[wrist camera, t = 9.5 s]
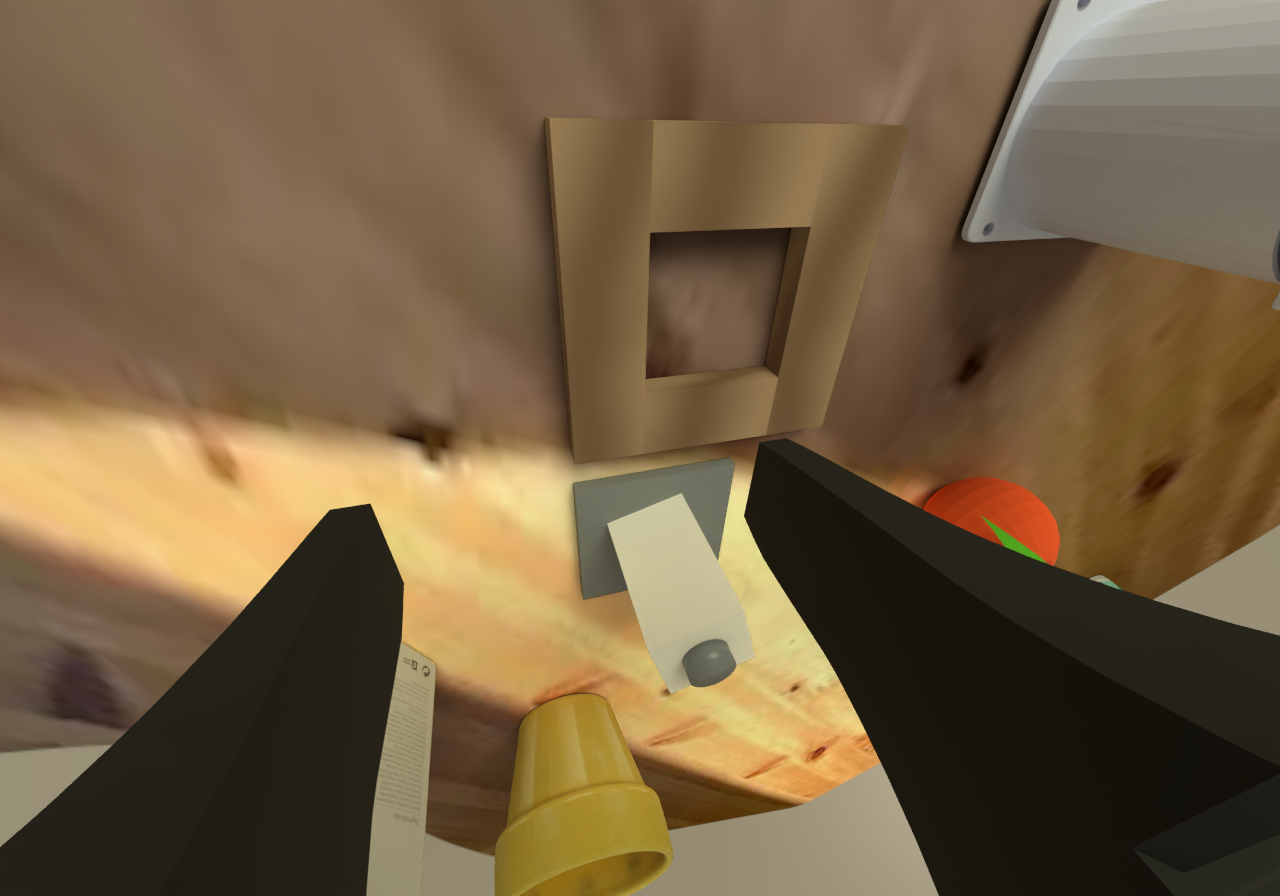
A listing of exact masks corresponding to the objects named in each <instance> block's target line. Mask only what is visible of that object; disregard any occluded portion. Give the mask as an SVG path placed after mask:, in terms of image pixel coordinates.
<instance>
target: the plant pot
mask: <svg viewBox="0 0 1280 896" xmlns="http://www.w3.org/2000/svg"><path fill="white" fill-rule="evenodd" d="M672 859H673V850H672V846H671V842H670V837H669V833H668V829H667V825H666V821H665V817H664V814H663V810H662V807H661V804H660V801H659V798H658V795H657V794H656V792H655V791H654V790H652V789H651V788H649V787H647V786H645V784H644V782H643V780H642V778H641V775H640V773H639V771H638V769H637V766H636V764H635V762H634V759H633V757H632V755H631V753H630V750H629V748H628V746H627V743H626V741H625V739H624V737H623V734H622V732H621V730H620V727H619V725H618V722H617V720H616V718H615V715H614V713H613V710H612V708H611V706H610V704H609V703H608V701H607V700H605V699H604V698H602V697H601V696H598V695H594V694H572V695H567V696H562V697H559V698H556V699H553V700H550V701H548V702H546V703H544V704H542V705H540V706H538V707H537V708H535V709H534V710H532V711H531V712H530V713H529V714H528V715H527V716H526V717H525V718H524V719H523V721H522V723H521V725H520V728H519V736H518V745H517V753H516V760H515V768H514V775H513V783H512V790H511V798H510V805H509V813H508V820H507V827H506V829H505V830H504V831H503V832H502V834H501V835H500V837H499V839H498V841H497V844H496V848H495V896H629V895H631V894H632V893H634V892H636V891H638V890H640V889H642V888H643V887H645V886H647V885H648V884H650V883H652V882H653V881H654V880H656V879H657V878H658V877H660V876H661V875H662V874H663V873H664V872H665V871H666V870H667V869H668V868H669V866H670V865H671V863H672Z"/></svg>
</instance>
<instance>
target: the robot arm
mask: <svg viewBox="0 0 1280 896" xmlns="http://www.w3.org/2000/svg"><path fill="white" fill-rule="evenodd" d="M1078 1H1079V4H1078ZM1077 4H1078V5H1077ZM985 226H986V227H985ZM984 228H985V229H984ZM983 230H984V231H983ZM1069 237H1071V238H1076V239H1080V240H1084V241H1089V242H1093V243H1098V244H1102V245H1107V246H1111V247H1116V248H1120V249H1125V250H1129V251H1134V252H1138V253H1142V254H1147V255H1151V256H1156V257H1160V258H1165V259H1169V260H1174V261H1178V262H1183V263H1187V264H1192V265H1196V266H1200V267H1205V268H1209V269H1214V270H1218V271H1223V272H1227V273H1232V274H1236V275H1241V276H1245V277H1250V278H1254V279H1258V280H1263V281H1267V282H1272V283H1276V284H1280V0H1052V1H1051V3H1050V6H1049V8H1048V11H1047V13H1046V16H1045V19H1044V21H1043V24H1042V26H1041V29H1040V31H1039V34H1038V36H1037V39H1036V42H1035V44H1034V47H1033V49H1032V52H1031V54H1030V57H1029V60H1028V62H1027V65H1026V67H1025V70H1024V72H1023V75H1022V77H1021V80H1020V83H1019V85H1018V88H1017V90H1016V93H1015V95H1014V98H1013V101H1012V103H1011V106H1010V108H1009V111H1008V113H1007V116H1006V119H1005V121H1004V124H1003V126H1002V129H1001V131H1000V134H999V136H998V139H997V142H996V144H995V147H994V149H993V152H992V154H991V157H990V160H989V162H988V165H987V167H986V170H985V172H984V175H983V178H982V180H981V183H980V185H979V188H978V190H977V193H976V195H975V198H974V201H973V203H972V206H971V208H970V211H969V213H968V216H967V219H966V221H965V224H964V226H963V229H962V238H963V240H965V241H969V242H992V241H1011V240H1030V239H1050V238H1069ZM1272 308H1273V309H1277V310H1280V290H1279V293H1278V295H1277V297H1276V298H1275V300H1274V302H1273V303H1272ZM744 517H745V519H746V522H747V524H748V526H749V528H750V531H751V533H752V535H753V537H754V540H755V542H756V544H757V546H758V548H759V550H760V552H761V554H762V556H763V558H764V560H765V561H766V563H767V565H768V566H769V568H770V570H771V571H772V573H773V574H774V576H775V577H776V579H777V581H778V582H779V584H780V585H781V587H782V589H783V590H784V592H785V593H786V595H787V596H788V598H789V599H790V601H791V603H792V604H793V606H794V607H795V609H796V610H797V612H798V613H799V615H800V616H801V618H802V620H803V621H804V623H805V624H806V626H807V627H808V629H809V630H810V632H811V634H812V635H813V637H814V638H815V640H816V641H817V643H818V644H819V646H820V648H821V649H822V651H823V652H824V654H825V656H826V657H827V659H828V661H829V662H830V664H831V666H832V667H833V669H834V671H835V672H836V674H837V676H838V678H839V680H840V682H841V684H842V686H843V688H844V690H845V692H846V693H847V695H848V697H849V699H850V701H851V703H852V705H853V707H854V709H855V711H856V713H857V715H858V717H859V719H860V721H861V722H862V724H863V727H864V729H865V731H866V733H867V735H868V737H869V739H870V741H871V743H872V745H873V747H874V749H875V751H876V753H877V756H878V758H879V760H880V762H881V764H882V766H883V768H884V770H885V772H886V774H887V776H888V778H889V780H890V783H891V785H892V787H893V790H894V792H895V794H896V796H897V798H898V801H899V803H900V805H901V807H902V809H903V812H904V814H905V816H906V819H907V821H908V823H909V825H910V827H911V830H912V832H913V834H914V836H915V839H916V841H917V843H918V846H919V848H920V851H921V853H922V855H923V858H924V860H925V863H926V865H927V867H928V870H929V872H930V875H931V877H932V880H933V882H934V885H935V887H936V889H937V892H938V894H939V896H1280V636H1279V635H1275V634H1271V633H1267V632H1263V631H1259V630H1255V629H1251V628H1248V627H1244V626H1240V625H1236V624H1232V623H1229V622H1225V621H1222V620H1218V619H1215V618H1211V617H1208V616H1205V615H1201V614H1198V613H1194V612H1191V611H1188V610H1185V609H1181V608H1178V607H1174V606H1171V605H1168V604H1164V603H1161V602H1157V601H1154V600H1151V599H1148V598H1145V597H1142V596H1139V595H1136V594H1133V593H1130V592H1126V591H1123V590H1120V589H1117V588H1114V587H1111V586H1108V585H1105V584H1103V583H1100V582H1097V581H1094V580H1091V579H1088V578H1086V577H1083V576H1080V575H1077V574H1074V573H1071V572H1069V571H1066V570H1063V569H1060V568H1057V567H1055V566H1052V565H1049V564H1047V563H1044V562H1041V561H1039V560H1036V559H1034V558H1031V557H1028V556H1026V555H1024V554H1021V553H1019V552H1016V551H1014V550H1011V549H1009V548H1007V547H1004V546H1002V545H999V544H997V543H995V542H992V541H990V540H987V539H985V538H983V537H980V536H978V535H976V534H973V533H971V532H969V531H967V530H964V529H962V528H960V527H958V526H956V525H954V524H952V523H949V522H947V521H945V520H943V519H941V518H939V517H937V516H935V515H933V514H931V513H929V512H927V511H925V510H922V509H920V508H918V507H916V506H914V505H912V504H910V503H908V502H907V501H905V500H903V499H901V498H899V497H897V496H895V495H893V494H891V493H889V492H887V491H885V490H883V489H882V488H880V487H878V486H876V485H874V484H872V483H870V482H868V481H867V480H865V479H863V478H861V477H859V476H857V475H856V474H854V473H852V472H850V471H848V470H846V469H845V468H843V467H841V466H839V465H837V464H835V463H834V462H832V461H830V460H828V459H826V458H824V457H823V456H821V455H819V454H817V453H815V452H813V451H811V450H809V449H807V448H805V447H803V446H801V445H799V444H797V443H795V442H793V441H791V440H789V439H787V438H785V439H779V440H772V441H766V442H760V443H759V447H758V452H757V456H756V461H755V466H754V471H753V476H752V480H751V485H750V490H749V495H748V500H747V504H746V509H745V514H744ZM403 591H404V582H403V580H402V578H401V575H400V573H399V570H398V568H397V566H396V563H395V561H394V559H393V556H392V554H391V551H390V549H389V547H388V544H387V542H386V540H385V537H384V535H383V532H382V530H381V528H380V525H379V523H378V521H377V518H376V516H375V513H374V511H373V509H372V506H371V504H365V505H358V506H352V507H345V508H339V509H333V510H329V511H328V513H327V514H326V515H325V516H324V517H323V518H322V519H321V520H320V522H319V523H318V524H317V525H316V526H315V527H314V529H313V530H312V531H311V532H310V533H309V534H308V536H307V537H306V538H305V539H304V540H303V541H302V543H301V544H300V545H299V546H298V547H297V549H296V550H295V551H294V552H293V553H292V554H291V556H290V557H289V558H288V559H287V560H286V561H285V563H284V564H283V565H282V566H281V567H280V568H279V570H278V571H277V572H276V573H275V574H274V576H273V577H272V578H271V579H270V580H269V581H268V583H267V584H266V585H265V586H264V587H263V588H262V589H261V590H260V592H259V593H258V594H257V595H256V596H255V597H254V598H253V600H252V601H251V602H250V603H249V604H248V605H247V606H246V607H245V609H244V610H243V611H242V612H241V613H240V614H239V615H238V617H237V618H236V619H235V620H234V621H233V622H232V623H231V624H230V626H229V627H228V628H227V629H226V630H225V631H224V632H223V633H222V634H221V635H220V636H219V637H218V638H217V639H216V640H215V642H214V643H213V644H212V645H211V646H210V647H209V648H208V649H207V650H206V651H205V652H204V653H203V654H202V655H201V656H200V657H199V658H198V659H197V661H196V662H195V663H194V664H193V665H192V666H191V667H190V668H189V669H188V670H187V671H186V672H185V673H184V674H183V675H182V676H181V677H180V678H179V679H178V681H177V682H176V683H175V684H174V685H173V686H172V687H171V688H170V689H169V690H168V691H167V692H166V693H165V694H164V695H163V696H162V697H161V698H160V699H159V700H158V701H157V702H156V703H155V704H154V705H153V706H152V707H151V708H150V709H149V710H148V711H147V712H146V713H145V714H144V715H143V716H142V717H141V718H140V719H139V720H138V721H137V722H136V723H135V724H134V725H133V726H132V727H131V728H130V729H129V730H128V731H127V732H126V733H125V734H124V735H123V736H122V737H121V738H120V739H119V740H118V741H117V742H116V743H115V744H113V745H112V746H111V747H110V748H109V749H108V750H107V751H106V752H105V753H104V754H103V755H102V756H101V757H100V758H98V759H97V760H96V761H95V762H94V763H93V764H92V765H91V766H90V767H89V768H88V769H87V770H86V771H84V773H82V774H81V775H80V776H79V777H78V778H77V779H76V780H75V781H74V782H73V783H72V784H71V785H69V786H68V787H67V788H66V789H65V790H64V791H63V792H62V793H61V794H60V795H59V796H58V797H57V798H55V799H54V800H53V801H52V802H51V803H50V804H49V805H48V806H47V807H46V808H44V809H43V810H42V811H41V812H40V813H39V814H38V815H37V816H36V817H34V818H33V819H32V820H31V821H30V822H29V823H28V824H26V825H25V826H24V827H23V828H22V829H21V830H19V831H18V832H17V833H16V834H15V835H14V836H13V837H11V838H10V839H9V840H8V841H7V842H6V843H4V844H3V845H2V846H1V847H0V896H366V894H367V880H368V867H369V854H370V842H371V829H372V816H373V808H374V800H375V793H376V785H377V778H378V772H379V767H380V761H381V755H382V750H383V744H384V738H385V732H386V727H387V721H388V715H389V710H390V704H391V698H392V693H393V687H394V681H395V675H396V669H397V663H398V657H399V651H400V645H401V638H402V620H403Z"/></svg>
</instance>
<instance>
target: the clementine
mask: <svg viewBox="0 0 1280 896" xmlns="http://www.w3.org/2000/svg"><path fill="white" fill-rule="evenodd" d="M923 510H925V511H927V512H929V513H931V514H933V515H935V516H937V517H939V518H941V519H943V520H945V521H947V522H949V523H952V524H954V525H956V526H958V527H960V528H962V529H964V530H967V531H969V532H971V533H973V534H976V535H978V536H980V537H983V538H985V539H987V540H990V541H992V542H995V543H997V544H999V545H1002V546H1004V547H1007V548H1009V549H1011V550H1014V551H1016V552H1019V553H1021V554H1024V555H1026V556H1028V557H1031V558H1034V559H1036V560H1039V561H1041V562H1044V563H1047V564H1049V565H1052V566H1053V565H1054V564H1055V561H1056V559H1057V556H1058V550H1059V544H1060V536H1059V532H1058V527H1057V523H1056V521H1055V519H1054V517H1053V516H1052V514H1051V512H1050V511H1049V509H1048V508H1047V507H1046V505H1045V504H1044V503H1043V502H1042V501H1041V500H1039V499H1038V498H1037V497H1036V496H1035V495H1034V494H1033V493H1032V492H1030V491H1028V490H1027V489H1025V488H1023V487H1021V486H1019V485H1017V484H1015V483H1011V482H1008V481H1004V480H1000V479H996V478H992V477H973V478H967V479H963V480H960V481H956V482H953V483H950V484H948V485H946V486H944V487H943V488H941V489H940V490H938V491H937V492H936V493H935V494H934V495H932V497H931V498H930V499H929V500H928V501H927V503H926V505H925V506H924V509H923Z"/></svg>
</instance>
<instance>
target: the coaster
mask: <svg viewBox="0 0 1280 896" xmlns="http://www.w3.org/2000/svg"><path fill="white" fill-rule="evenodd" d="M734 467H735V464H734V463H733V461H732V460H731V459H730V458H724V459H718V460H712V461H705V462H699V463H693V464H687V465H681V466H675V467H669V468H662V469H656V470H650V471H644V472H638V473H632V474H626V475H619V476H613V477H607V478H601V479H595V480H589V481H582V482H576V483H573V488H574V501H575V513H576V526H577V539H578V551H579V564H580V577H581V589H582V595H583V600H586V599H590V598H595V597H599V596H604V595H608V594H613V593H617V592H622V591H626V590H628V587H627V584H626V581H625V578H624V575H623V572H622V569H621V565H620V562H619V559H618V556H617V553H616V550H615V547H614V544H613V541H612V537H611V534H610V531H609V528H608V525H607V524H608V523H610V522H612V521H615V520H617V519H620V518H622V517H625V516H627V515H629V514H632V513H634V512H637V511H639V510H642V509H644V508H646V507H649V506H651V505H654V504H656V503H659V502H661V501H664V500H666V499H668V498H671V497H673V496H676V495H678V494H681V493H682V495H683V497H684V499H685V501H686V502H687V504H688V506H689V508H690V510H691V512H692V514H693V515H694V517H695V519H696V521H697V523H698V525H699V527H700V529H701V530H702V532H703V534H704V536H705V538H706V540H707V542H708V543H709V545H710V547H711V549H712V551H713V553H714V555H715V556H716V558H717V560H718V557H719V551H720V546H721V540H722V534H723V529H724V523H725V518H726V512H727V506H728V501H729V495H730V489H731V484H732V478H733V472H734Z"/></svg>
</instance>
